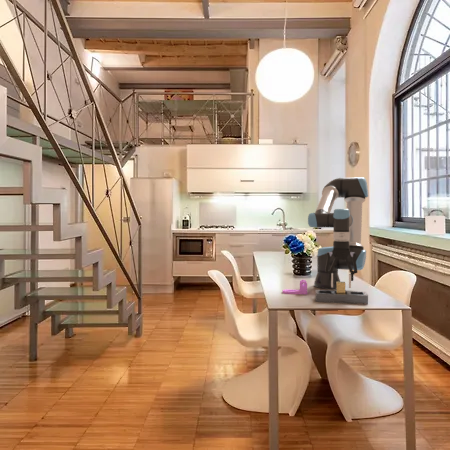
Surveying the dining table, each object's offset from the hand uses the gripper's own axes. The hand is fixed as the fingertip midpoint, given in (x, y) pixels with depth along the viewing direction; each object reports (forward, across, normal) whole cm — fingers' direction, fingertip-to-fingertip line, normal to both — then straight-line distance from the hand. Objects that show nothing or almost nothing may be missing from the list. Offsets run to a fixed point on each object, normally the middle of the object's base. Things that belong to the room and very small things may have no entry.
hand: (340, 287), depth 193 cm
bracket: (+7, -23, +15) cm, 28 cm away
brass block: (+7, 0, 0) cm, 7 cm away
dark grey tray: (+7, 0, 0) cm, 7 cm away
